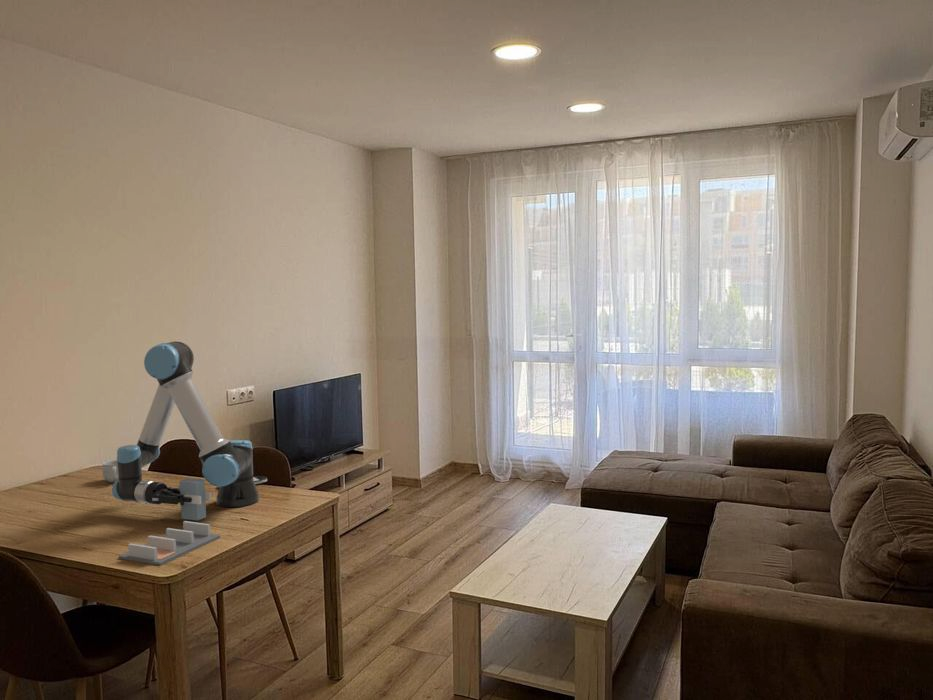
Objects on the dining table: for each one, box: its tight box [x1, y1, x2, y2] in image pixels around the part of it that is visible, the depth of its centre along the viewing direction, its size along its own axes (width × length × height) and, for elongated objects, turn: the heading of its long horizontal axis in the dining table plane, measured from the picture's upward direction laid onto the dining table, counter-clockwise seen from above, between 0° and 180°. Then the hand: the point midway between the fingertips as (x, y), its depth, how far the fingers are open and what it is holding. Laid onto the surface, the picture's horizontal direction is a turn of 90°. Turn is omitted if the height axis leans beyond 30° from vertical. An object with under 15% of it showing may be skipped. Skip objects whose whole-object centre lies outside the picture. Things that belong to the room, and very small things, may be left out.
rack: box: [118, 520, 221, 566], centre depth 225 cm, size 25×16×4 cm, turn 158°
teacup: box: [101, 459, 119, 483], centre depth 303 cm, size 14×11×8 cm
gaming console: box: [217, 475, 268, 488], centre depth 296 cm, size 19×9×2 cm, turn 128°
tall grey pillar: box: [178, 477, 207, 521], centre depth 249 cm, size 4×7×13 cm, turn 68°
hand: (205, 498), depth 246 cm, fingers closed on tall grey pillar, 4 cm apart
